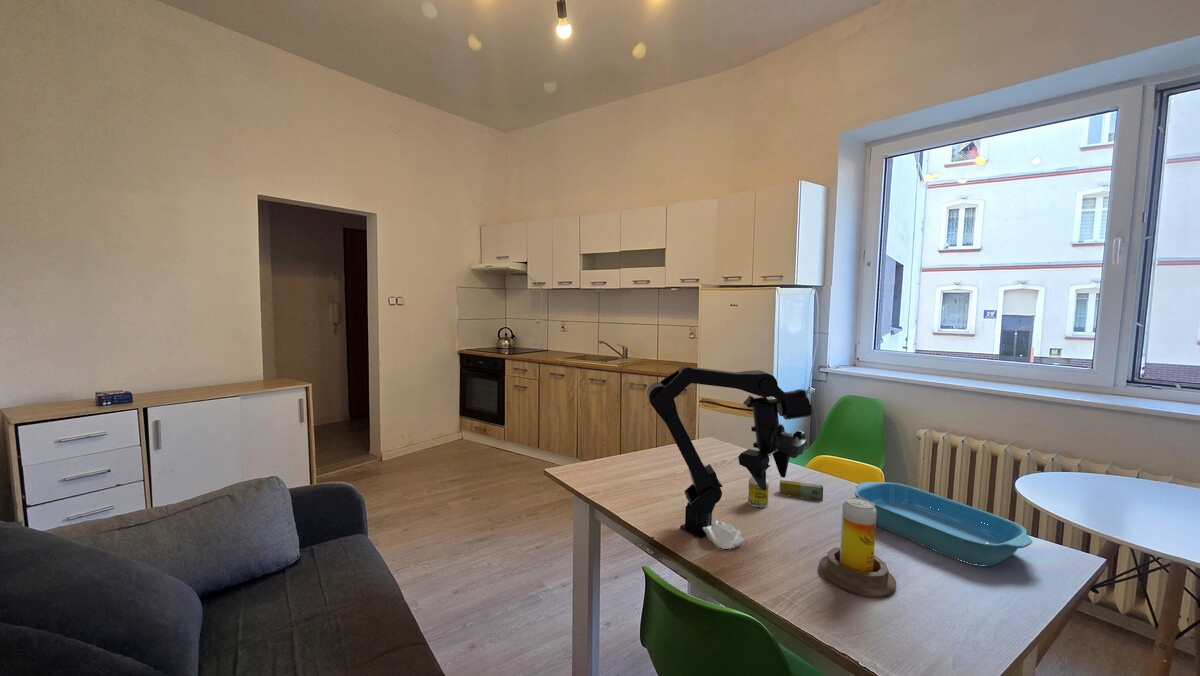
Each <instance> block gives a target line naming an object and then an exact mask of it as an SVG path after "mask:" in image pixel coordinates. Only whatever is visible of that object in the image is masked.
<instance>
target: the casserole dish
mask: <svg viewBox="0 0 1200 676" xmlns="http://www.w3.org/2000/svg"><path fill="white" fill-rule="evenodd" d="M854 495H855V496H854V497H857V498H863V499H866V500H869V501H871V502H872V503H874V505H875V508H876V511H877V514H876V526H877V527H880V528H883V529H885V530H887V531H890V532H891V533H894V534H895V535H897V536H899V537H902V538H906V539H908V540H910V541H912V542H915V543H916V544H919V545H921V546H923V545H924V546H923V547H925V546H926V548H927V547H929V548H928V549H930V548H931V549H930V550H932V549H934V550H933V551H935V550H936V551H935V552H937V551H938V552H937V553H939V552H941V553H940V554H942V553H943V554H942V555H944V554H946V555H945V556H947V555H948V556H947V557H949V556H951V557H953V558H952V559H954V558H956V559H955V560H957V559H959V560H962V561H965V562H968V563H971V564H977V565H990V566H993V564H994V565H996V564H998V563H1001V562H1003V561H1004V560H1006V559H1008V558H1009V557H1011V556H1012V555H1014V554H1015V553H1016V552H1017V551H1018V549H1024V548H1026V547H1028V546H1030V545H1031V544H1032V543H1033V540H1032V538H1031V537H1030V536H1029V535H1028V534H1027V533H1028V531H1027V529H1026V527H1024V526H1023V525H1020V524H1019V523H1017V522H1014V521H1012V520H1010V519H1007V518H1004V517H1002V516H1000V515H996V514H993V513H991V512H989V511H985V510H982V509H978V508H976V507H973V506H970V505H967V504H964V503H961V502H958V501H956V500H953V499H950V498H947V497H944V496H941V495H938V494H935V493H932V492H928V491H926V490H923V489H919V488H917V487H914V486H910V485H906V484H904V483H903V484H902V483H897V482H887V481H886V482H885V481H883V482H882V481H881V482H880V481H879V482H876V481H866V482H859V483H858V484H856V489H855V490H854ZM930 507H931V508H930ZM938 509H939V510H938ZM981 522H982V523H981ZM984 523H985V524H984ZM987 524H988V525H987ZM986 542H988V543H989V544H986ZM951 557H950V558H951ZM959 560H958V561H959ZM962 561H961V562H962ZM965 562H964V563H965ZM968 563H967V564H968ZM971 564H970V565H971Z"/></svg>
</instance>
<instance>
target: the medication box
mask: <svg viewBox="0 0 1200 676" xmlns="http://www.w3.org/2000/svg"><path fill="white" fill-rule="evenodd" d="M778 486H779V487H778V488H779V490H778V492H779V493H780V494H779V495H781V494H784V495H783V496H788V495H790V496H789V497H794V496H795V498H801V497H802V499H807V498H808V499H807V500H813V501H815V500H816V501H823V500H824V486H823V485H822V484H815V483H806V482H801V481H792V480H784V479H779V485H778Z"/></svg>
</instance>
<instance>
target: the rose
mask: <svg viewBox="0 0 1200 676" xmlns="http://www.w3.org/2000/svg"><path fill="white" fill-rule="evenodd" d="M702 529H703V530H704V532H705V533H706V535H705V537H707V539H708V540H709V541H710V542H711V541H712V542H713V543H714V544H715V545H716V546H715V545H714V544H713V543H712V542H711V543H712V544H713V545H714V546H715V547H716V548H718V547H719V548H718V549H720V548H722V549H721V550H723V549H730V550H732V549H731V548H734V547H737V548H739V547H738V546H740V545H742V544H743V542H744V538H743V537H742V536H741V534H742V531H740V530H738V529H735V527H734V525H732V524H728V523H726V522H723V520H715V522H714V523H713V524H711V526H708V527H703V528H702ZM734 549H735V548H734Z"/></svg>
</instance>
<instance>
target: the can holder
mask: <svg viewBox="0 0 1200 676" xmlns="http://www.w3.org/2000/svg"><path fill="white" fill-rule="evenodd" d="M840 547H841V546H840ZM840 547H833V548H831V549H830V550H828V551H827V555H825V556H823V557H822V558H821V559H820V560H819V563H818V564H819V565H818V570H819V573H820V575H821V576H822V578H824V580H826V581H827V582H828V583H829V584H831V585H833V586H835V587H836V588H838V589H839V590H842V591H844V592H846V593H848V594H852V595H855V596H859V597H862V598H863V597H864V598H869V599H870V598H871V599H884V598H889V597H891V596H893V595H894V594H895V593H896V590H897V580H896V579H895V577H894V576H893V574H892V573H891V572H890V571H889V568H888V565H887V563H886V561H883V560H882V559H881V558H880V557H878V556H877V555H876V554H874V562H873V572H870V573H866V572H861V571H856V570H852V569H850V568H848V567H846V566H843V565H842V564H840Z"/></svg>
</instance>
